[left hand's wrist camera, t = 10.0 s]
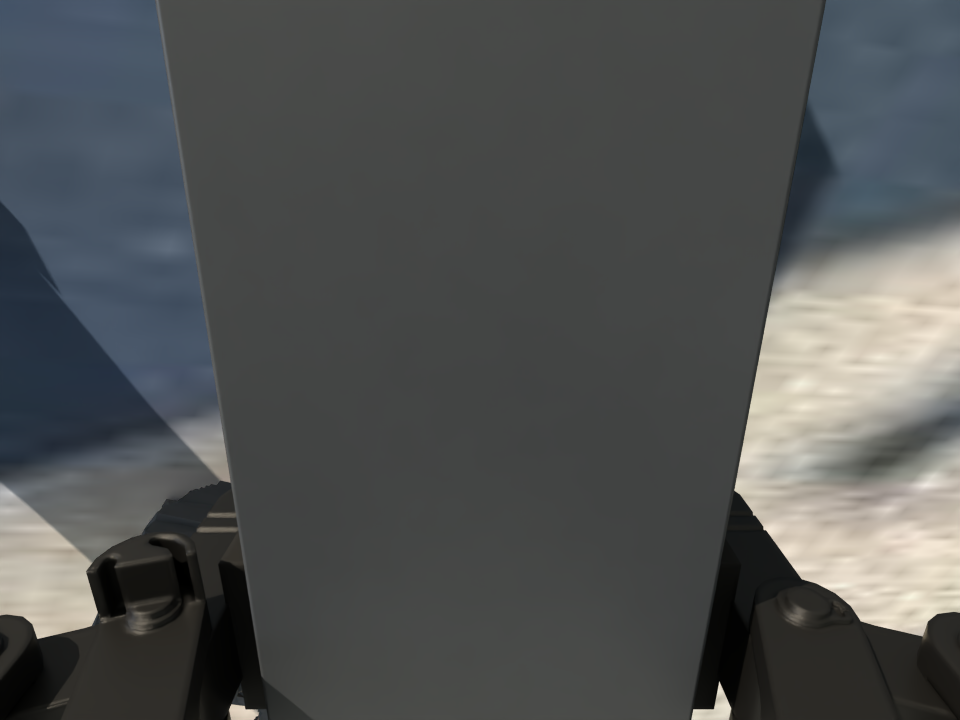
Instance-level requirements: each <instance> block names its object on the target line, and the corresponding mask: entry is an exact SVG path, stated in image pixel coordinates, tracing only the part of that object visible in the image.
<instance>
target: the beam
mask: <svg viewBox="0 0 960 720" xmlns="http://www.w3.org/2000/svg"><path fill="white" fill-rule="evenodd" d="M155 2H156V9H157V15H158V21H159V28H160V34H161V40H162V47H163V53H164V59H165V66H166V72H167V79H168V85H169V91H170V98H171V104H172V110H173V117H174V123H175V130H176V136H177V142H178V149H179V155H180V161H181V168H182V174H183V180H184V187H185V193H186V200H187V206H188V212H189V219H190V225H191V231H192V238H193V244H194V251H195V257H196V263H197V270H198V276H199V282H200V289H201V295H202V302H203V308H204V314H205V321H206V327H207V333H208V340H209V346H210V352H211V359H212V365H213V372H214V378H215V384H216V391H217V397H218V403H219V410H220V416H221V423H222V429H223V435H224V442H225V448H226V454H227V461H228V467H229V473H230V480H231V486H232V493H233V499H234V505H235V512H236V518H237V524H238V531H239V537H240V544H241V550H242V556H243V563H244V569H245V575H246V582H247V588H248V594H249V601H250V607H251V614H252V620H253V626H254V633H255V639H256V645H257V652H258V658H259V665H260V671H261V677H262V684H263V690H264V696H265V703H266V709H267V715H268V720H691V718H692V713H693V707H694V702H695V697H696V691H697V686H698V681H699V675H700V670H701V665H702V659H703V654H704V649H705V643H706V638H707V633H708V627H709V622H710V617H711V611H712V606H713V601H714V595H715V590H716V585H717V579H718V574H719V569H720V563H721V558H722V553H723V547H724V542H725V537H726V531H727V526H728V521H729V515H730V510H731V505H732V499H733V494H734V489H735V483H736V478H737V473H738V467H739V462H740V457H741V451H742V446H743V441H744V435H745V430H746V425H747V419H748V414H749V409H750V403H751V398H752V393H753V387H754V382H755V377H756V371H757V366H758V360H759V355H760V350H761V344H762V339H763V334H764V328H765V323H766V318H767V312H768V307H769V302H770V296H771V291H772V286H773V280H774V275H775V270H776V264H777V259H778V254H779V248H780V243H781V238H782V232H783V227H784V222H785V216H786V211H787V206H788V200H789V195H790V190H791V184H792V179H793V174H794V168H795V163H796V158H797V152H798V147H799V142H800V136H801V131H802V126H803V120H804V115H805V110H806V104H807V99H808V94H809V88H810V83H811V78H812V72H813V67H814V62H815V56H816V51H817V46H818V40H819V35H820V30H821V24H822V19H823V14H824V8H825V3H826V0H155Z"/></svg>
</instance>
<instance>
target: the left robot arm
mask: <svg viewBox="0 0 960 720" xmlns="http://www.w3.org/2000/svg"><path fill="white" fill-rule="evenodd" d="M86 573H87V576H88V580H89V583H90V587H91V590H92V594H93V597H94V601H95V604H96V608H97V611H98V614H99V618H100V623H99V624H97V625H94V626H91V627H87V628H84V629H79V630H75V631H71V632H66V633H62V634H58V635H53V636H49V637H45V638H40V639H37V637H36V634H35V631H34V628H33V625H32V624H31V623H30V622H29V621H28V620H26V619H25V618H24V617H21V616H14V615H1V616H0V720H231V718H230V713H229V708H230V706H231V704H232V701H233V699H234V697H235V695H236V692H237V690H238V688H239V685H240V683H241V687H242V693H243V698H244V703H245V708H246V709H266V703H265V696H264V690H263V684H262V677H261V671H260V665H259V658H258V652H257V645H256V639H255V633H254V626H253V620H252V614H251V607H250V601H249V594H248V588H247V582H246V575H245V569H244V563H243V556H242V550H241V544H240V537H239V531H238V524H237V518H236V512H235V505H234V499H233V493H232V489H230V490H229V491H227V492H226V493H224V494H223V495H222V496H220V497H219V499H218V500H217V501H216V503H215V504H214V505H213V507H212V508H211V510H210V511H209V512H208V514H207V518H204V519H203V521H202V522H201V523H200V525H199V526H198V528H197V531H196V532H194V533H193V534H192V536H191V537H190V538H189V537H188V536H187V535H185V534H181V533H177V532H172V531H167V532H152V533H148V534H144V535H140V536H136V537H132V538H130V539H128V540H126V541H124V542H121V543H119V544H117V545H115V546H113V547H111V548H110V549H108V550H107V551H106V552H104V553H103V554H102V555H100V556H99V557H97V558H96V559H95V561H94V562H93V563H92V564H91V566H90V567H89V568H88V570H87V571H86ZM719 681H720V684H721V686H722V688H723V690H724V693H725V695H726V697H727V699H728V702H729V704H730V706H731V713H730V718H729V720H960V613H957V612H950V613H942V614H937V615H936V616H934V617H933V618H932V619H931V620H929V621H928V623H927V626H926V629H925V632H924V635H923V637H922V636H918V635H913V634H909V633H905V632H900V631H896V630H891V629H887V628H883V627H878V626H874V625H871V624H868V623H864V622H861V621H860V620H859V618H858V617H857V615H856V614H855V612H854V611H853V609H852V608H851V606H850V605H849V604H847V603H846V602H845V601H844V600H843V599H841V598H840V597H839V596H838V595H836V594H835V593H833V592H831V591H830V590H828V589H826V588H824V587H822V586H820V585H818V584H816V583H812V582H809V581H805V580H802V579H801V578H800V576H799V575H798V574H797V572H796V571H795V570H794V568H793V567H792V565H791V564H790V563H789V561H788V560H787V559H786V557H785V556H784V554H783V553H782V552H781V550H780V549H779V548H778V546H777V545H776V543H775V542H774V541H773V539H772V538H771V537H770V535H769V534H768V532H767V531H766V530H763V526H762V524H761V523H760V522H759V520H758V519H757V517H756V516H753V512H752V511H751V509H750V508H749V506H748V505H747V504H746V502H745V501H744V500H743V498H742V497H741V495H740V494H738V493H737V492H735V491H734V494H733V499H732V505H731V510H730V515H729V521H728V526H727V531H726V537H725V542H724V547H723V553H722V558H721V563H720V569H719V574H718V579H717V585H716V590H715V595H714V601H713V606H712V611H711V617H710V622H709V627H708V633H707V638H706V643H705V649H704V654H703V659H702V665H701V670H700V675H699V681H698V686H697V691H696V697H695V702H694V707H693V709H714V706H715V701H716V695H717V690H718V685H719Z"/></svg>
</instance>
